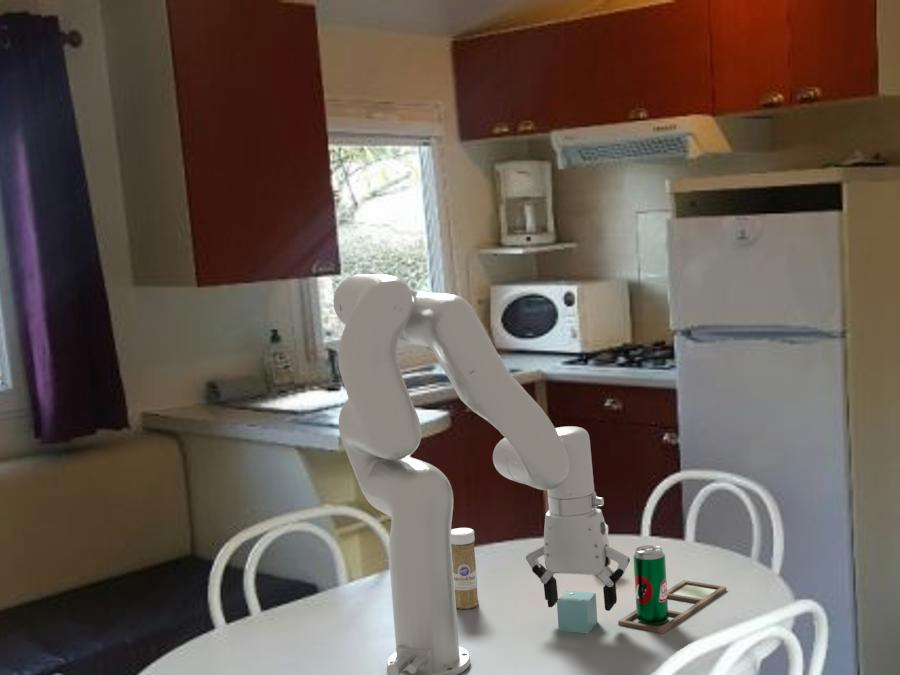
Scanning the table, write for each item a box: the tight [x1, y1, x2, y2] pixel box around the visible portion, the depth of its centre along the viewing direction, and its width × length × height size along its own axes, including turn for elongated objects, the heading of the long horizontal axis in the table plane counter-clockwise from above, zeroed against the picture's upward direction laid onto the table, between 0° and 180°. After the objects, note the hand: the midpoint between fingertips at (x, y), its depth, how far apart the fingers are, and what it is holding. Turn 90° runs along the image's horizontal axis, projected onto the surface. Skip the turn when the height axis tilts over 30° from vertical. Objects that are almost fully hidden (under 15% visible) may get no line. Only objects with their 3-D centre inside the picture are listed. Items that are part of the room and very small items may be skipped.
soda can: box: [632, 545, 669, 626], centre depth 181 cm, size 5×5×12 cm
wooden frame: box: [617, 579, 727, 634], centre depth 187 cm, size 23×8×1 cm, turn 141°
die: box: [556, 590, 598, 634], centre depth 181 cm, size 5×5×5 cm
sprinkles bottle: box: [451, 527, 480, 610], centre depth 195 cm, size 5×5×13 cm
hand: (581, 605), depth 182 cm, fingers open, 9 cm apart
